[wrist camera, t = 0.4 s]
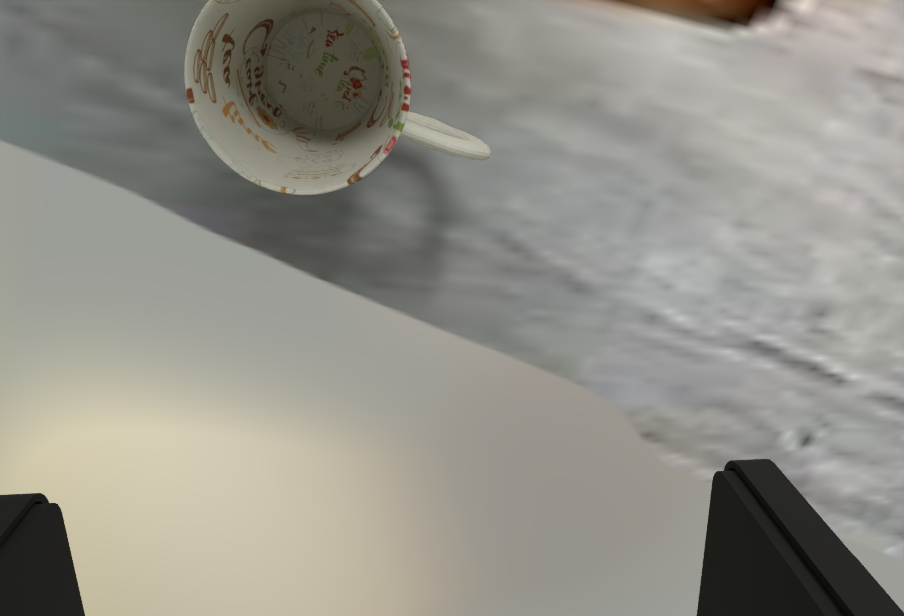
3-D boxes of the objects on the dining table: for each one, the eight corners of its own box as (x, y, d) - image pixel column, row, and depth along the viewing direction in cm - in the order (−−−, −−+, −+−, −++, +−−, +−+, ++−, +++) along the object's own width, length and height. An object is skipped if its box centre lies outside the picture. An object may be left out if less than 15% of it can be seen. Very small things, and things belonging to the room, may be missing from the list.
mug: (265, -49, 36) (216, -77, 26) (512, 51, 38) (549, 57, 28) (218, 122, 38) (158, 152, 29) (453, 207, 40) (469, 260, 31)
